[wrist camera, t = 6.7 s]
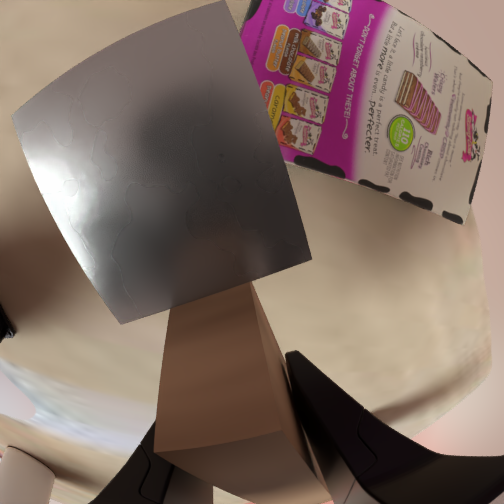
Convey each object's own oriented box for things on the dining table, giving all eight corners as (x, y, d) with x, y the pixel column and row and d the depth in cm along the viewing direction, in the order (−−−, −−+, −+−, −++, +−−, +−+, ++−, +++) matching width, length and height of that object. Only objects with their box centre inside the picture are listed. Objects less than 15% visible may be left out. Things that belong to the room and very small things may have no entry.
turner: (342, 407, 13) (371, 486, 9) (235, 438, 13) (245, 518, 9) (223, 8, 5) (245, -127, 1) (23, 113, 5) (-118, 154, 1)
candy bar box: (210, 143, 16) (423, 210, 19) (205, 145, 12) (465, 231, 15) (257, -8, 12) (453, 85, 15) (268, -47, 8) (497, 82, 11)
